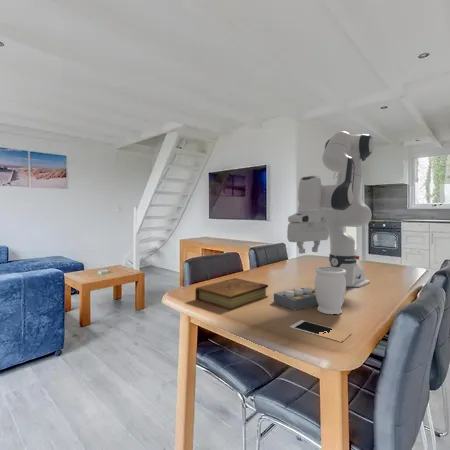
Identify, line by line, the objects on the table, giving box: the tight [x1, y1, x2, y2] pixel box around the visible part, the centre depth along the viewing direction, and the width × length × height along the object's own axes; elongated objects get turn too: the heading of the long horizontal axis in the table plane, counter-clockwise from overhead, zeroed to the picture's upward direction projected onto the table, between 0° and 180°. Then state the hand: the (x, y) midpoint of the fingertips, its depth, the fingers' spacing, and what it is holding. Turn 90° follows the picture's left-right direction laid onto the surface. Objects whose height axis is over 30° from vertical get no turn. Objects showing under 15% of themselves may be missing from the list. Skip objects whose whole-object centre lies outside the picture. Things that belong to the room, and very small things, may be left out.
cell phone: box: [289, 319, 332, 335], centre depth 90 cm, size 8×16×1 cm, turn 48°
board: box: [273, 287, 319, 311], centre depth 117 cm, size 16×11×4 cm
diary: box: [194, 277, 269, 311], centre depth 123 cm, size 23×19×6 cm
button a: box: [285, 289, 294, 298], centre depth 115 cm, size 3×3×3 cm
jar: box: [314, 266, 347, 316], centre depth 108 cm, size 11×10×15 cm
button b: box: [303, 286, 313, 294], centre depth 120 cm, size 3×3×3 cm
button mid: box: [294, 288, 303, 296], centre depth 117 cm, size 3×3×3 cm
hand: (308, 252), depth 119 cm, fingers open, 6 cm apart
